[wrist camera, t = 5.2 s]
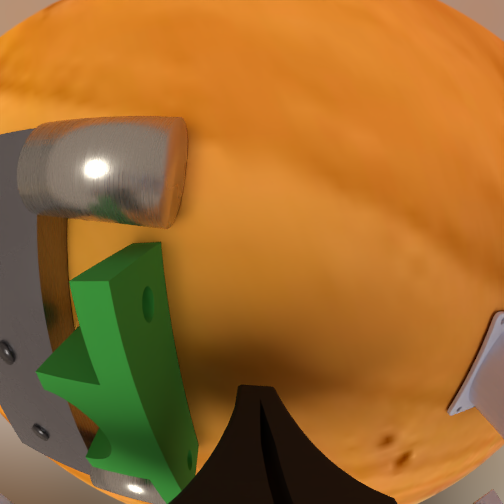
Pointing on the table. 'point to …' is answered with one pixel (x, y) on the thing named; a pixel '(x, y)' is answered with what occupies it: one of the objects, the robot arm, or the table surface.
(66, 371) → the green notched block
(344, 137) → the table surface
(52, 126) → the fixed leaf
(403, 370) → the table surface
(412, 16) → the table surface
